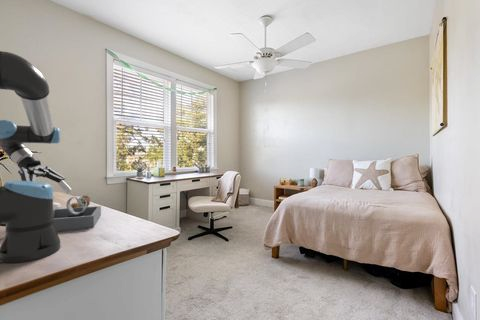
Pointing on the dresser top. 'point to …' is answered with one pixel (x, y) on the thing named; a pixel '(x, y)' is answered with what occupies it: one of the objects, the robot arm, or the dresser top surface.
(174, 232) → the dresser top surface
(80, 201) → the watch
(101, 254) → the dresser top surface
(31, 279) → the dresser top surface
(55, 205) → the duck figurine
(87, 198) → the lion figurine
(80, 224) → the tray
